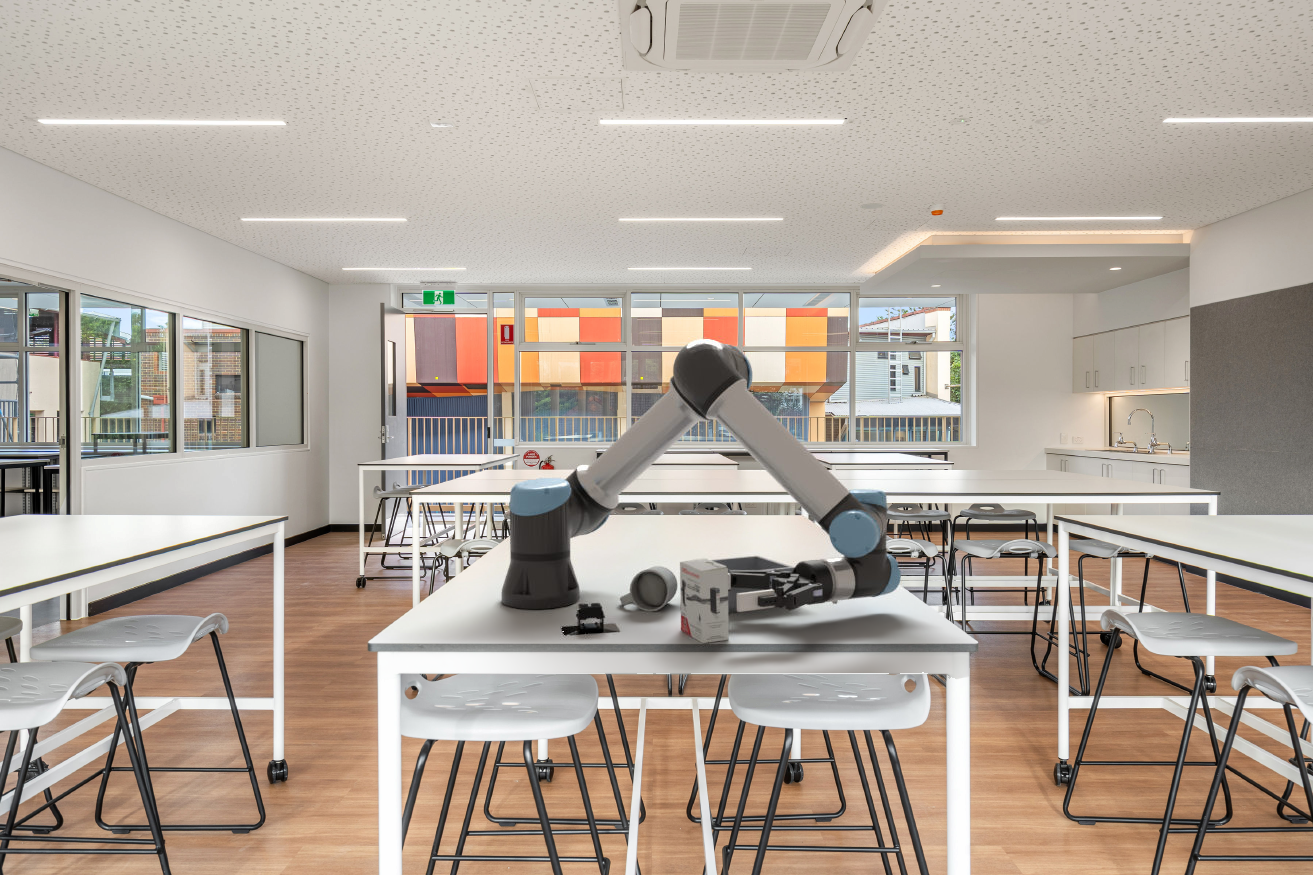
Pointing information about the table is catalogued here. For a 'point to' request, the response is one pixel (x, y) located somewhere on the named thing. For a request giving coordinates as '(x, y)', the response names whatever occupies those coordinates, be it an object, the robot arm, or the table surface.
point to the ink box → (704, 600)
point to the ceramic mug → (651, 589)
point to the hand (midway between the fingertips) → (716, 593)
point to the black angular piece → (590, 628)
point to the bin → (749, 564)
